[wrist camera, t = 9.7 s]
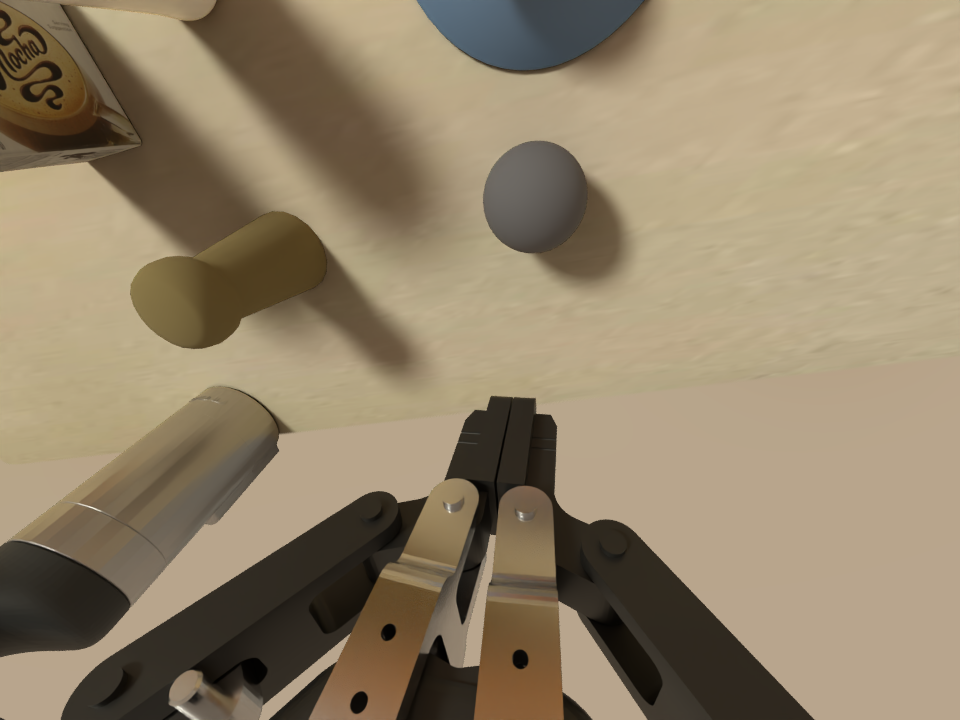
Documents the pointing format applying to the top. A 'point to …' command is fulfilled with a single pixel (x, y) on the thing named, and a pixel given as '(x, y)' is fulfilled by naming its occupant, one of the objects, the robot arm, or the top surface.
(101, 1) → the drinking glass
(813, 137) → the top surface
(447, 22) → the blue flat round disc
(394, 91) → the top surface
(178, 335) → the cork
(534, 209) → the gray ball
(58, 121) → the coffee box
